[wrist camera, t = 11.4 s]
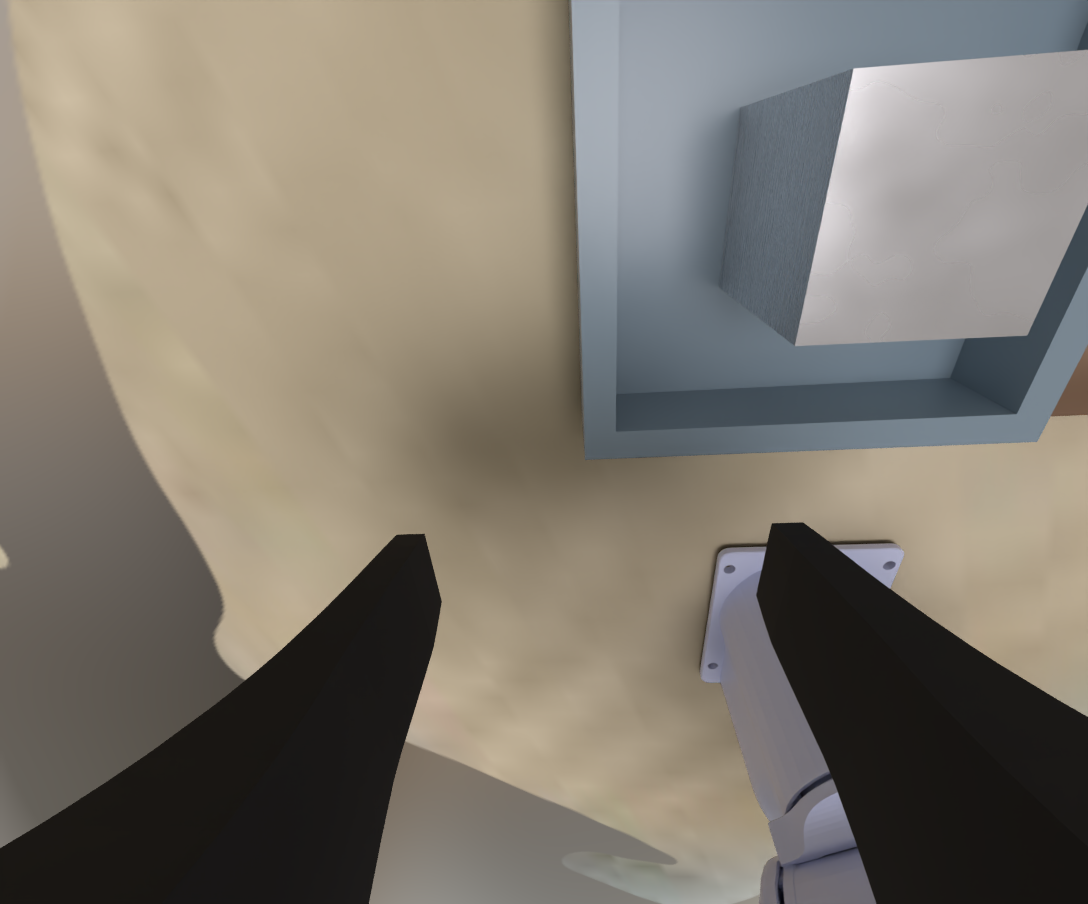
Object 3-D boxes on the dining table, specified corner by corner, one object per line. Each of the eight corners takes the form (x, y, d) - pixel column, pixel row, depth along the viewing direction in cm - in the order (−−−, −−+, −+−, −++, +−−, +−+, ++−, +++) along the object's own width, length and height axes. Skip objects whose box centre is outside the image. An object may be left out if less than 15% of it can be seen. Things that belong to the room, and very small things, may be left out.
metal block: (922, 93, 13) (1161, 44, 8) (871, 279, 15) (1027, 335, 10) (740, 107, 13) (853, 68, 8) (718, 287, 16) (795, 346, 10)
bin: (957, 395, 18) (1036, 441, 15) (581, 413, 19) (585, 459, 16) (1187, -177, 11) (1428, -310, 8) (564, -103, 12) (565, -197, 9)
